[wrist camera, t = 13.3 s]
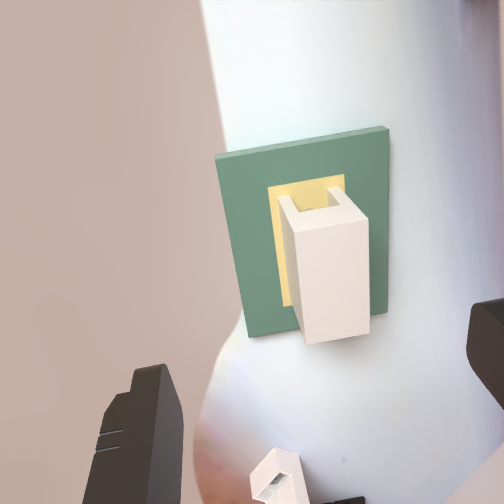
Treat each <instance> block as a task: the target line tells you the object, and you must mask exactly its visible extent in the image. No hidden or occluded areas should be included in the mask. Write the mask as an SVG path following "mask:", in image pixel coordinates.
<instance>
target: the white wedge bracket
mask: <svg viewBox="0 0 504 504" xmlns="http://www.w3.org/2000/svg"><path fill="white" fill-rule="evenodd" d="M250 482H251V491H252V499H255V500H259V501H262V502H265V504H310V503H309V498H308V494H307V490H306V485H305V481H304V477H303V472H302V468H301V464H300V459H299V455H297V454H294V453H291V452H288V451H285V450H283V449H280V448H277V447H274V448H273V449H272V450H271V451H270V452H269V454H268V455H267V456H266V457H265V458H264V459H263V460H262V462H261V463H260V464H259V465H258V466H257V467H256V468H255V469H254V471H253V472H252V473H251V474H250Z"/></svg>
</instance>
